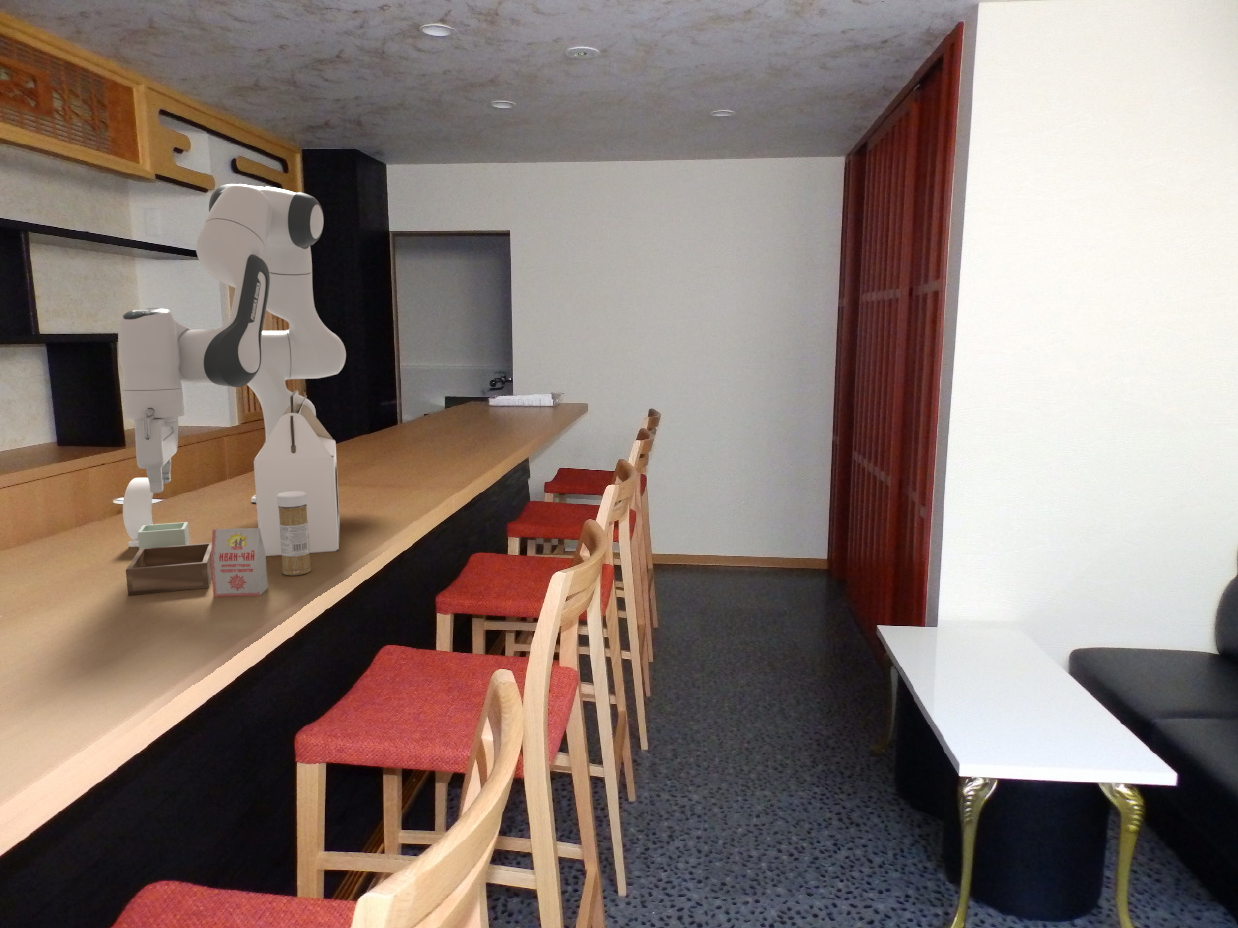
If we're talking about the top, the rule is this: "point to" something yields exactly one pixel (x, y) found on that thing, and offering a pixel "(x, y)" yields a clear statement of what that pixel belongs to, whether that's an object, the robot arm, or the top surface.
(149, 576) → the large crate
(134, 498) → the headphone stand
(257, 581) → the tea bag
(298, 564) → the sprinkles bottle
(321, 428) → the gable box
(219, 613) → the top surface
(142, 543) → the box
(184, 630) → the top surface
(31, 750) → the top surface
